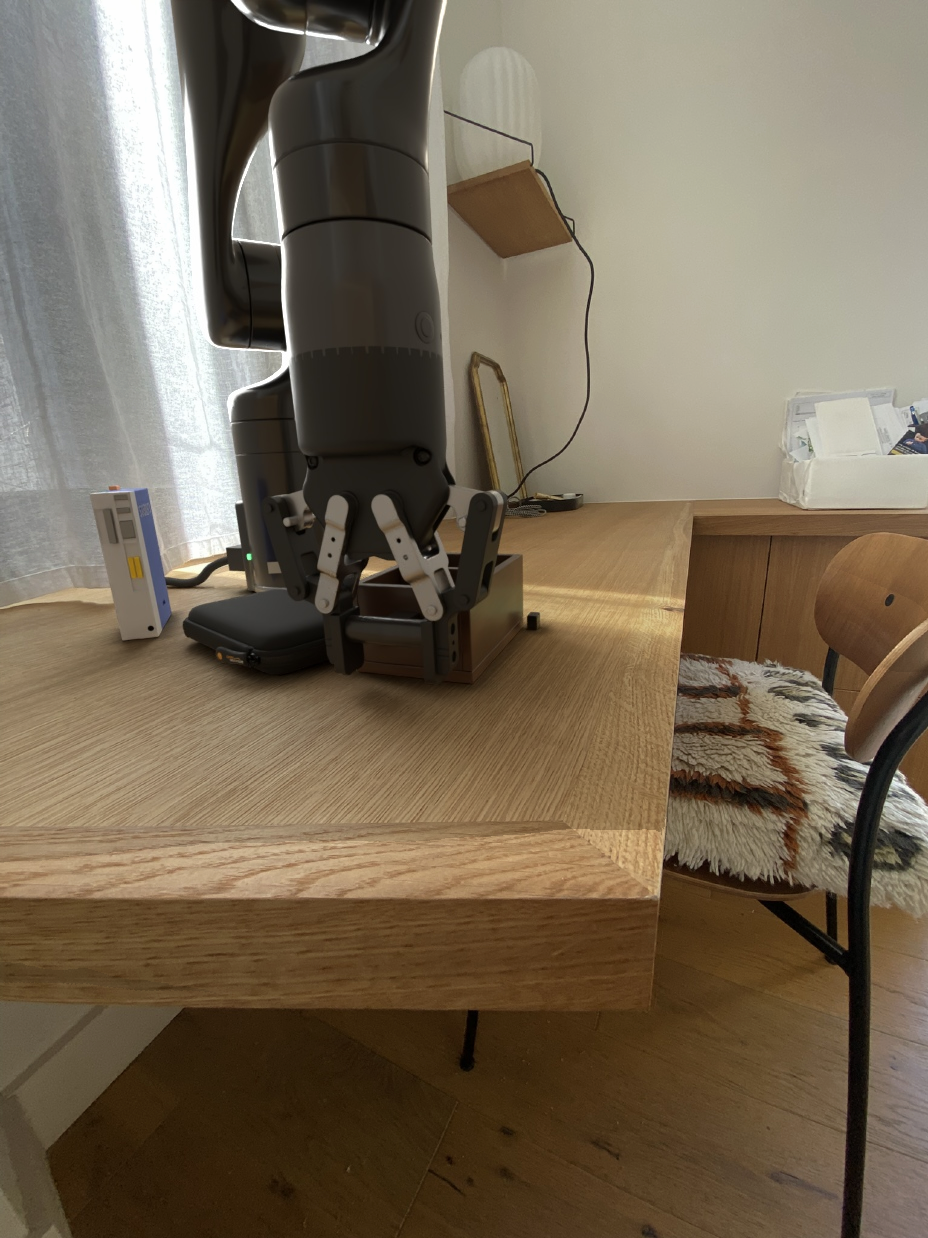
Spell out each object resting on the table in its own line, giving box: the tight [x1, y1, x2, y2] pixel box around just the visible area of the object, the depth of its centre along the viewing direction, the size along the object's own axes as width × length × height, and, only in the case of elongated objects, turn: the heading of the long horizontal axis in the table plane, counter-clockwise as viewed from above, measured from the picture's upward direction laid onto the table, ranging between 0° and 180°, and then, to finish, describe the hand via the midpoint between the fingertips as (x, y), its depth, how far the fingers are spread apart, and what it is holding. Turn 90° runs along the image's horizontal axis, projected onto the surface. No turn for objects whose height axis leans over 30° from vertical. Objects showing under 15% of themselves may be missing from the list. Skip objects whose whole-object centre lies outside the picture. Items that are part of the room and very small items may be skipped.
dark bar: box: [526, 611, 541, 631], centre depth 45 cm, size 10×1×1 cm, turn 70°
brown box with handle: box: [344, 551, 524, 685], centre depth 38 cm, size 15×8×6 cm, turn 160°
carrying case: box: [182, 589, 330, 675], centre depth 41 cm, size 11×3×15 cm
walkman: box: [89, 485, 173, 641], centre depth 47 cm, size 8×3×12 cm, turn 20°
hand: (392, 673), depth 32 cm, fingers closed on brown box with handle, 5 cm apart
